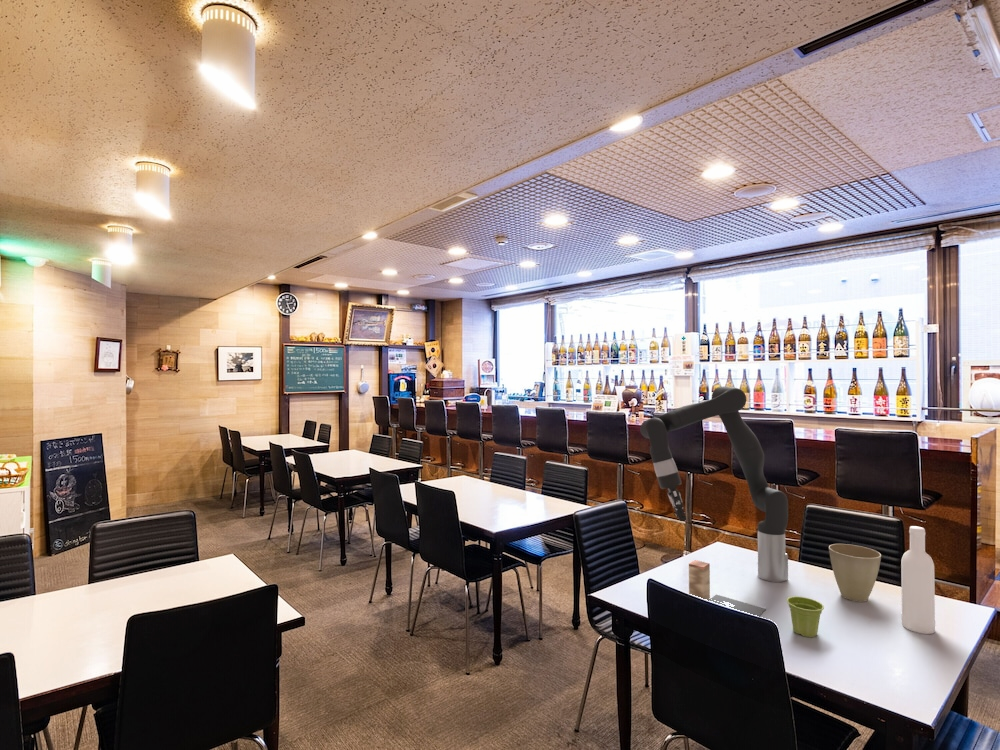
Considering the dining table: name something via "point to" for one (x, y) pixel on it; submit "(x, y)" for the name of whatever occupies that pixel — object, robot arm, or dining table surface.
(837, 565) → the plant pot
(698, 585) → the oak block
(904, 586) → the bottle
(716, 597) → the slate mat
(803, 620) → the plant pot
